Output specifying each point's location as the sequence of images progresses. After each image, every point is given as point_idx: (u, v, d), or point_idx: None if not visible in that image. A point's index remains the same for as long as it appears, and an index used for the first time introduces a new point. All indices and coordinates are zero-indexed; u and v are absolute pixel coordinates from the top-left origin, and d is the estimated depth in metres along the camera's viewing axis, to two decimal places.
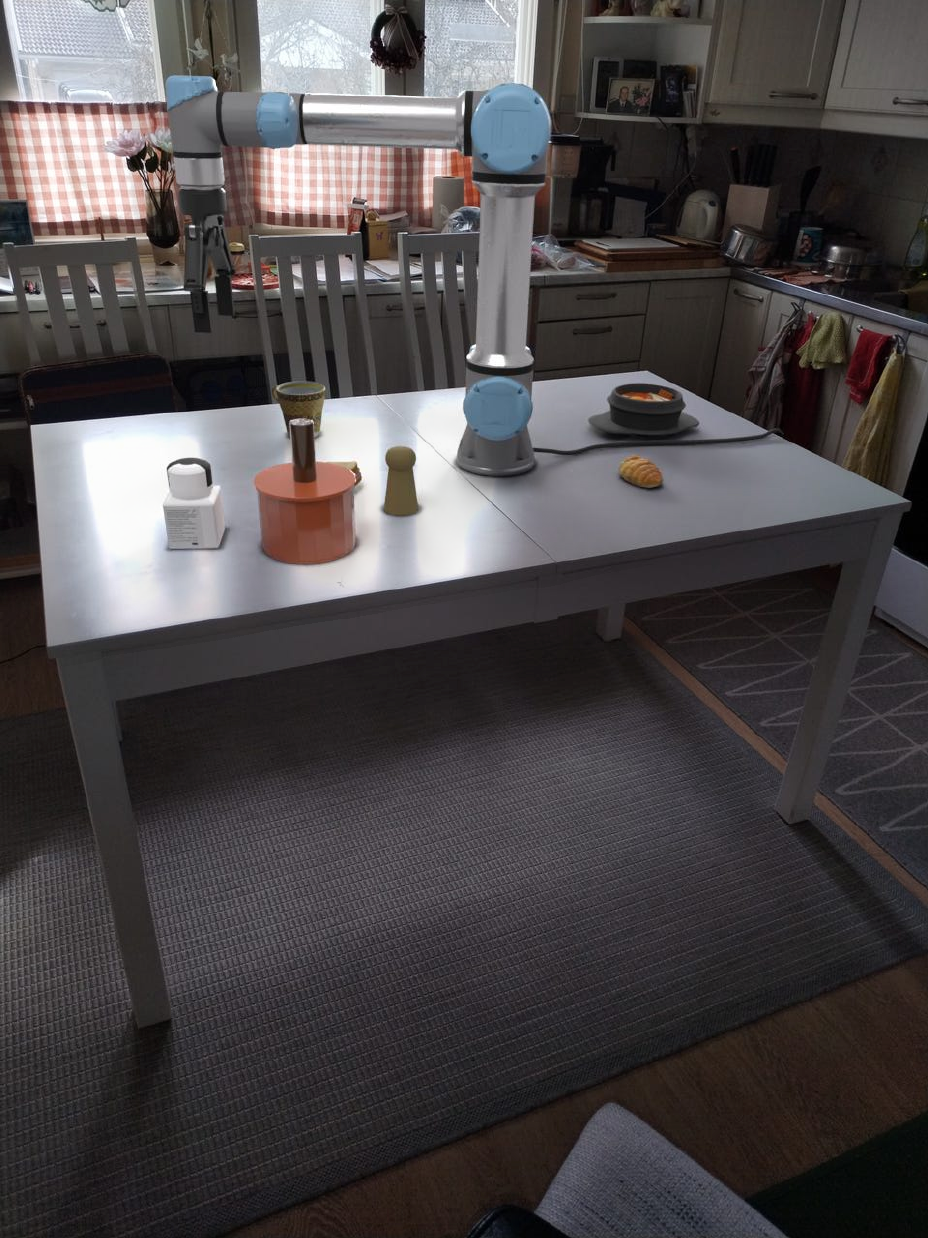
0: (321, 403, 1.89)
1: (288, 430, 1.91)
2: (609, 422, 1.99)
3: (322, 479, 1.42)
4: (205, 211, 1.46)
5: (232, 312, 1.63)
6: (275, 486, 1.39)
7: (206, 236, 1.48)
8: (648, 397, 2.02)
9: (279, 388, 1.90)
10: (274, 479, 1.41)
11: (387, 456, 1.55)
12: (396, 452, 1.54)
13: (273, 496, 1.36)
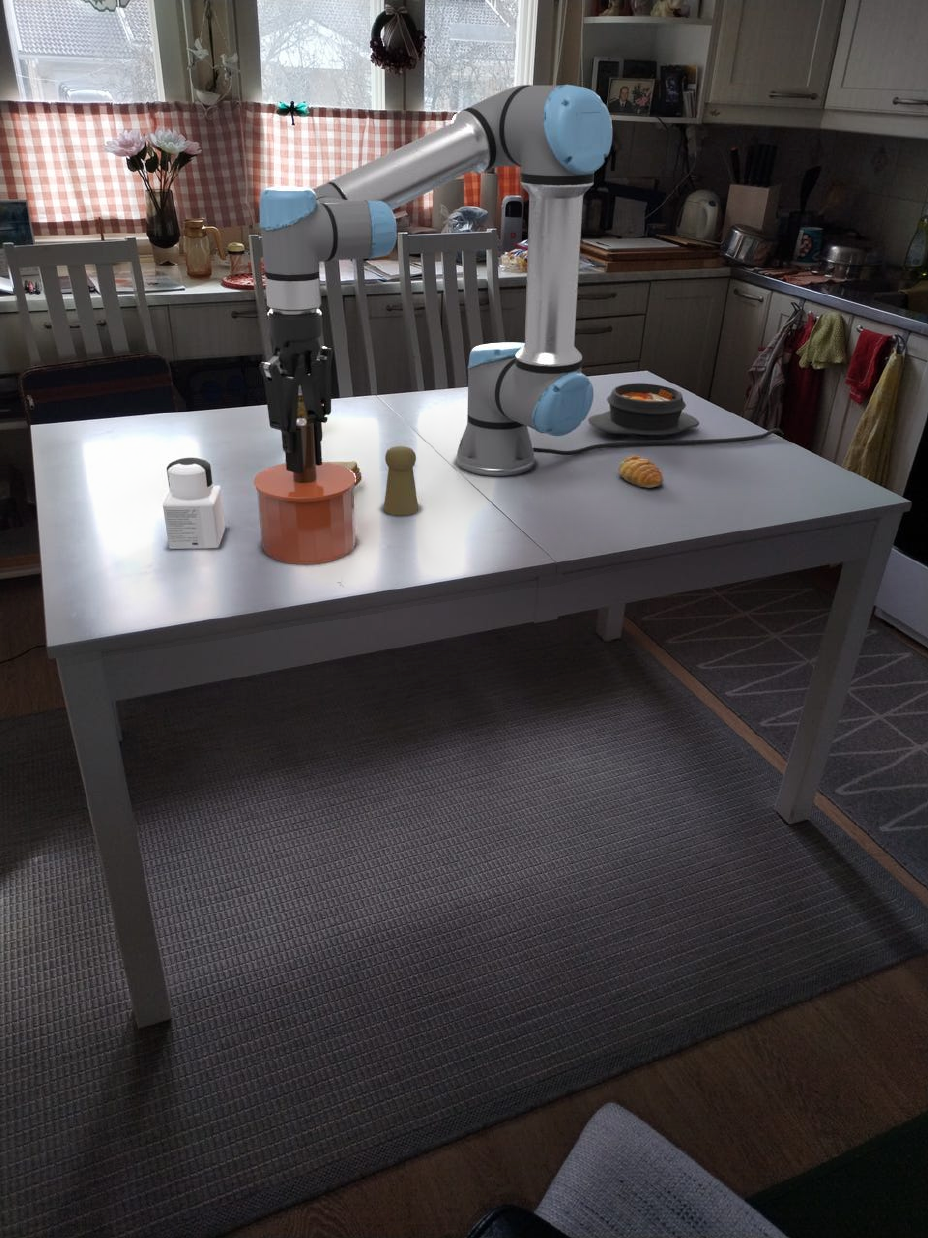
0: None
1: None
2: (609, 422, 1.99)
3: (322, 479, 1.42)
4: (286, 338, 1.28)
5: (318, 462, 1.41)
6: (275, 486, 1.39)
7: (287, 364, 1.30)
8: (648, 397, 2.02)
9: None
10: (274, 479, 1.41)
11: (387, 456, 1.55)
12: (396, 452, 1.54)
13: (273, 496, 1.36)
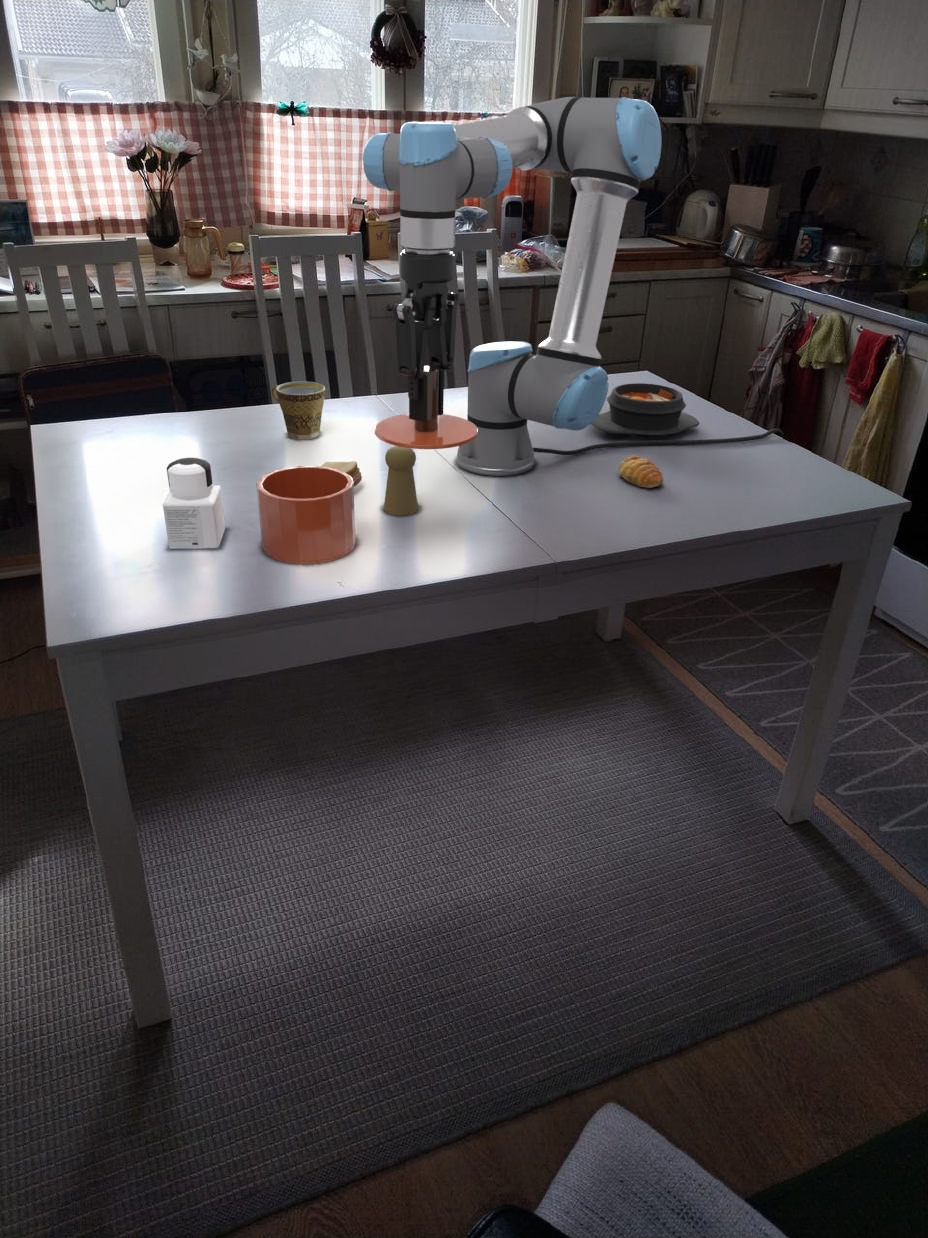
0: (321, 403, 1.89)
1: (288, 430, 1.91)
2: (609, 422, 1.99)
3: (444, 429, 1.39)
4: (421, 278, 1.25)
5: (440, 411, 1.38)
6: (398, 435, 1.36)
7: (420, 306, 1.27)
8: (648, 397, 2.02)
9: (279, 388, 1.90)
10: (395, 428, 1.38)
11: (387, 456, 1.55)
12: (396, 452, 1.54)
13: (399, 444, 1.33)
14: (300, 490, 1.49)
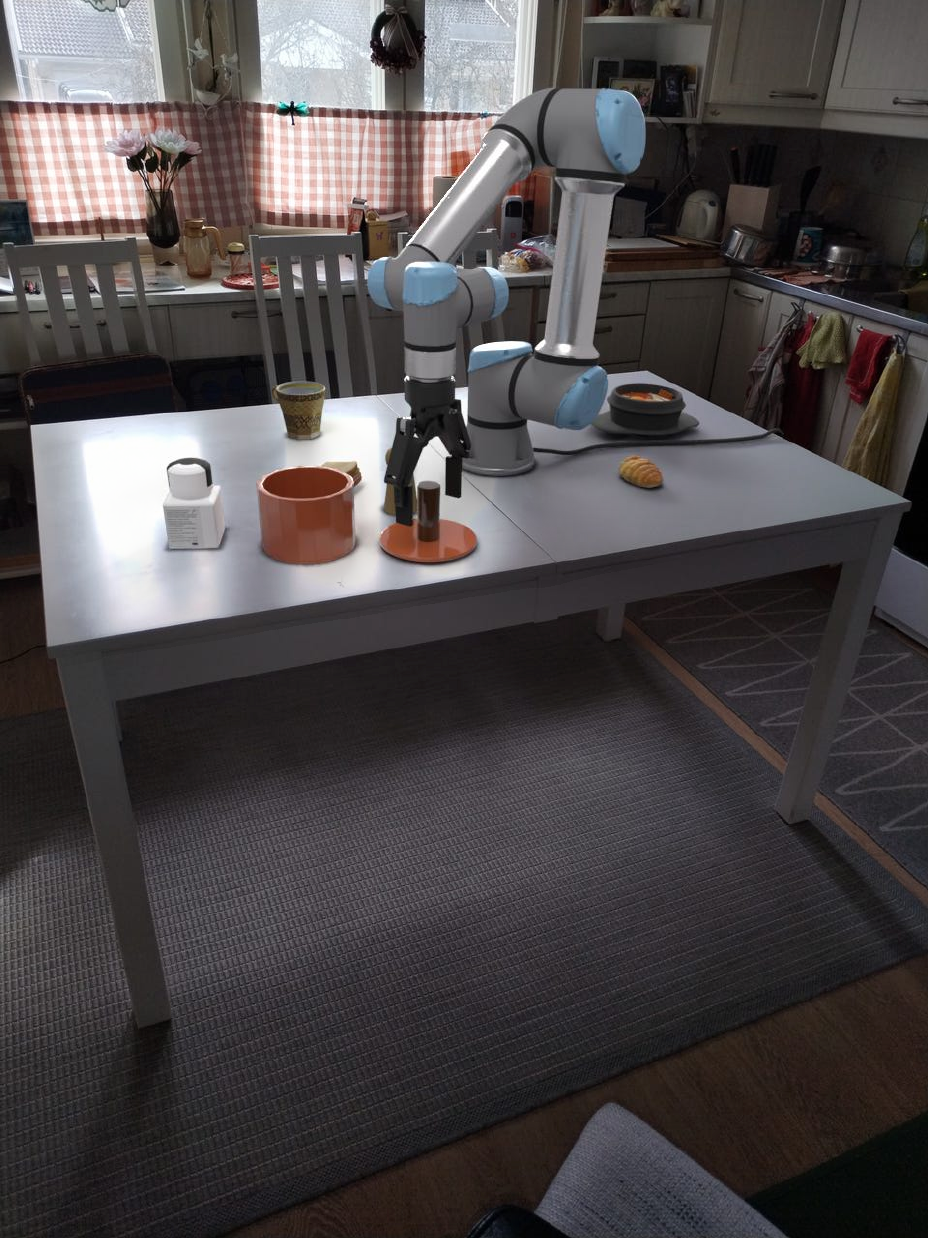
0: (321, 403, 1.89)
1: (288, 430, 1.91)
2: (609, 422, 1.99)
3: (445, 538, 1.48)
4: (424, 404, 1.33)
5: (458, 495, 1.49)
6: (402, 546, 1.45)
7: (423, 428, 1.36)
8: (648, 397, 2.02)
9: (279, 388, 1.90)
10: (399, 538, 1.47)
11: (387, 456, 1.55)
12: None
13: (403, 557, 1.42)
14: (300, 490, 1.49)
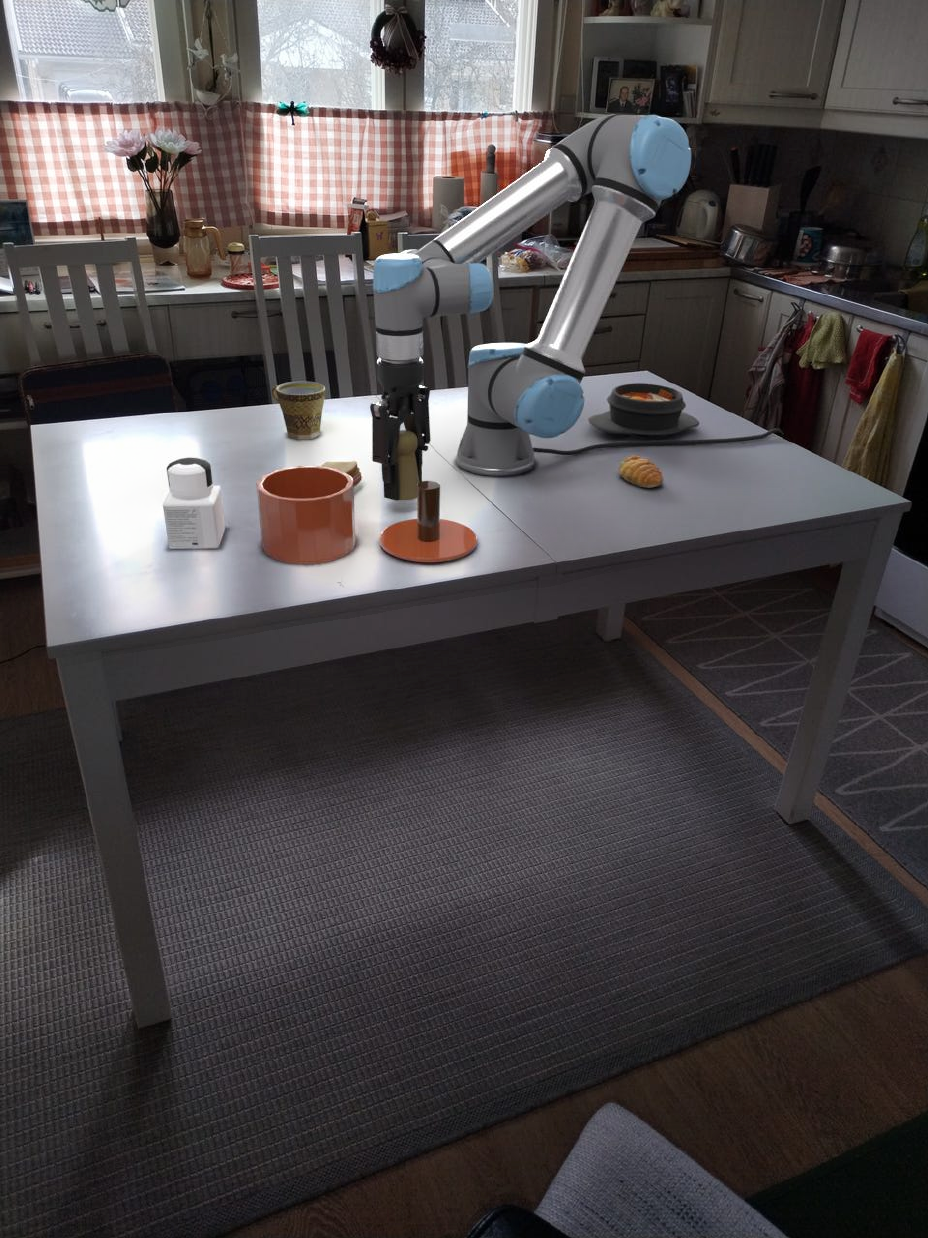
0: (321, 403, 1.89)
1: (288, 430, 1.91)
2: (609, 422, 1.99)
3: (445, 538, 1.48)
4: (394, 384, 1.46)
5: None
6: (402, 546, 1.45)
7: (394, 406, 1.48)
8: (648, 397, 2.02)
9: (279, 388, 1.90)
10: (399, 538, 1.47)
11: None
12: None
13: (403, 557, 1.42)
14: (300, 490, 1.49)
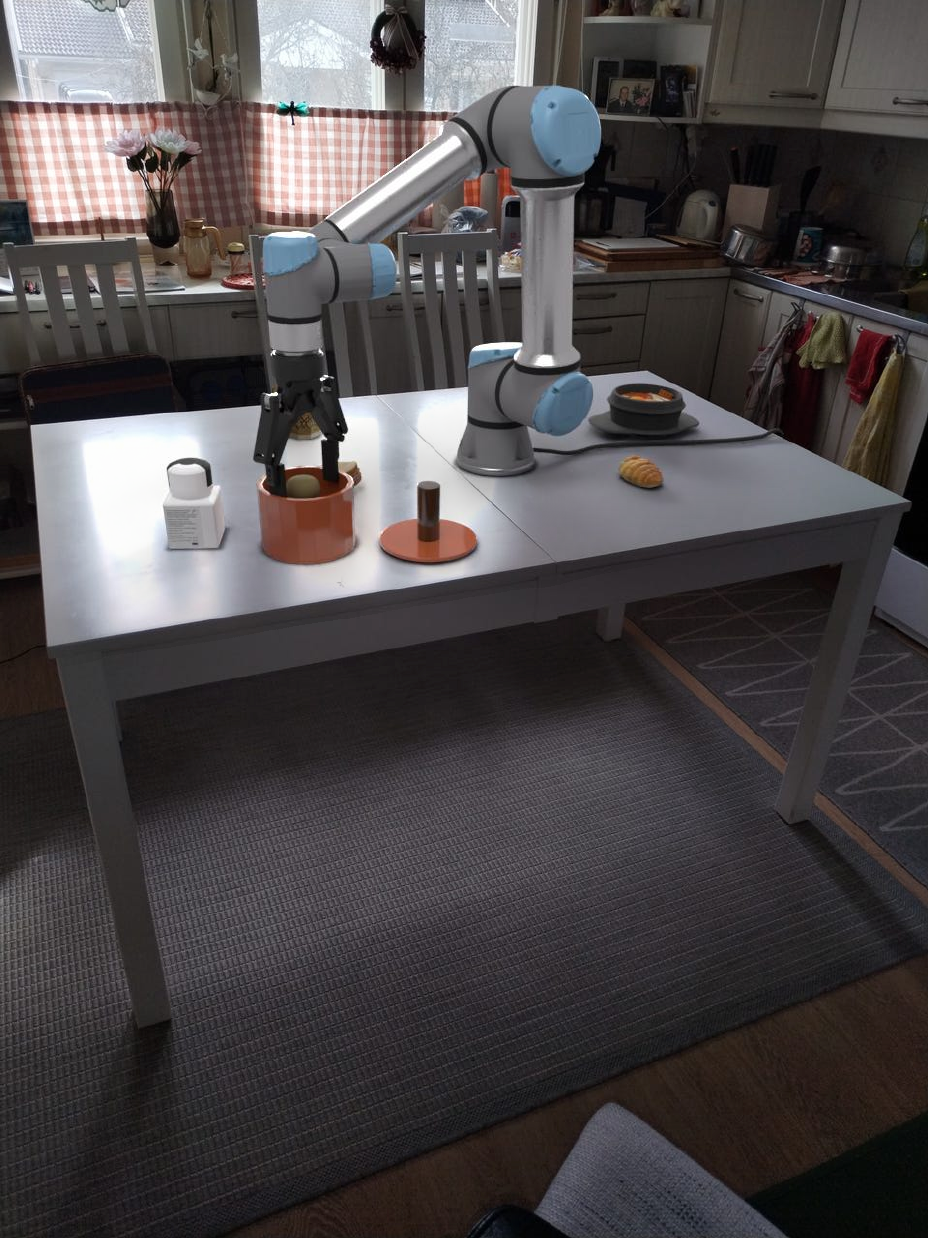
0: None
1: None
2: (609, 422, 1.99)
3: (445, 538, 1.48)
4: (289, 378, 1.30)
5: (335, 479, 1.46)
6: (402, 546, 1.45)
7: (290, 403, 1.33)
8: (648, 397, 2.02)
9: None
10: (399, 538, 1.47)
11: (287, 486, 1.40)
12: (296, 482, 1.40)
13: (403, 557, 1.42)
14: None
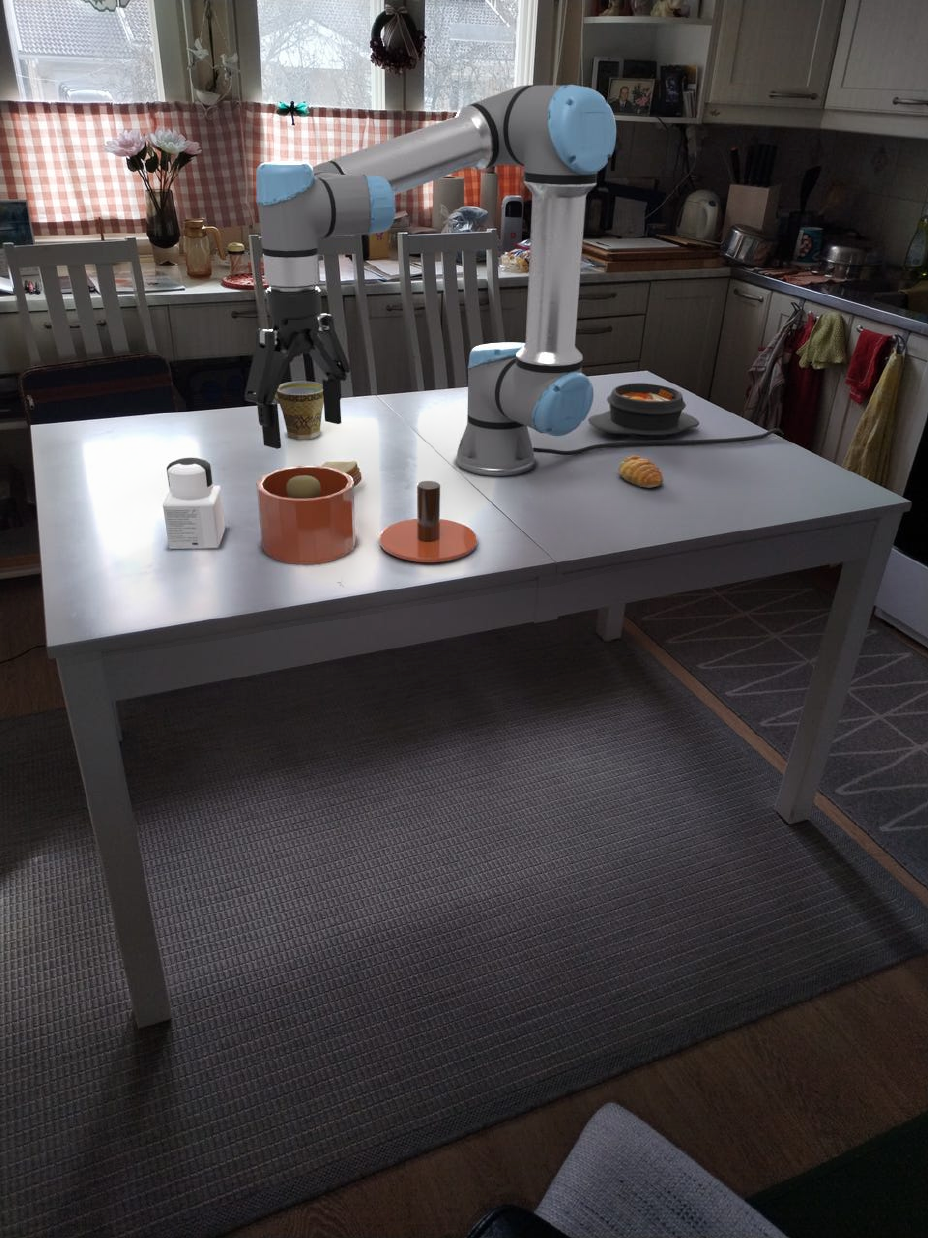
0: (321, 403, 1.89)
1: (288, 430, 1.91)
2: (609, 422, 1.99)
3: (445, 538, 1.48)
4: (285, 315, 1.26)
5: (337, 420, 1.42)
6: (402, 546, 1.45)
7: (286, 342, 1.28)
8: (648, 397, 2.02)
9: (279, 388, 1.90)
10: (399, 538, 1.47)
11: (287, 487, 1.40)
12: (297, 483, 1.39)
13: (403, 557, 1.42)
14: None
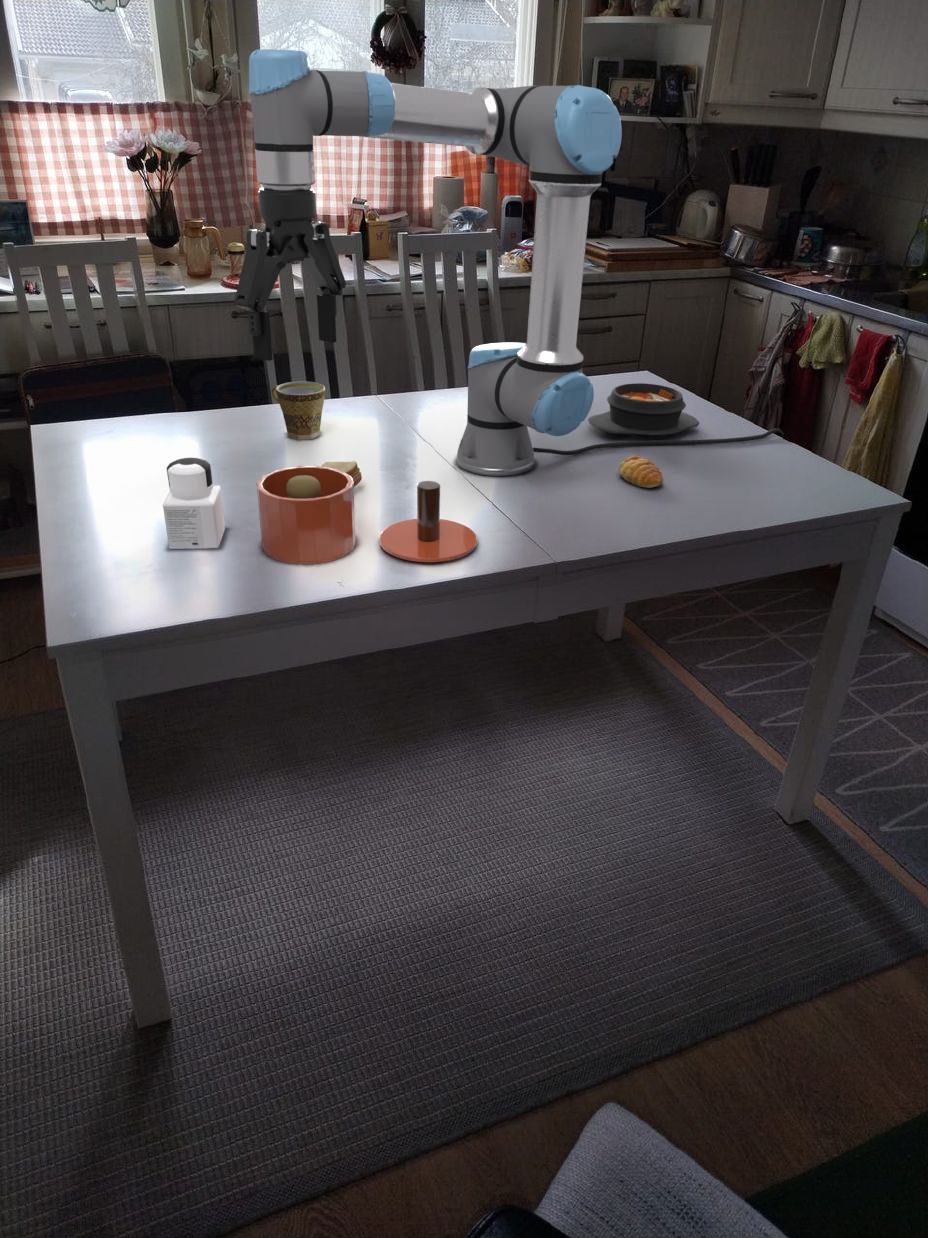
0: (321, 403, 1.89)
1: (288, 430, 1.91)
2: (609, 422, 1.99)
3: (445, 538, 1.48)
4: (278, 216, 1.20)
5: (332, 338, 1.36)
6: (402, 546, 1.45)
7: (279, 246, 1.22)
8: (648, 397, 2.02)
9: (279, 388, 1.90)
10: (399, 538, 1.47)
11: (287, 487, 1.40)
12: (297, 483, 1.39)
13: (403, 557, 1.42)
14: None
